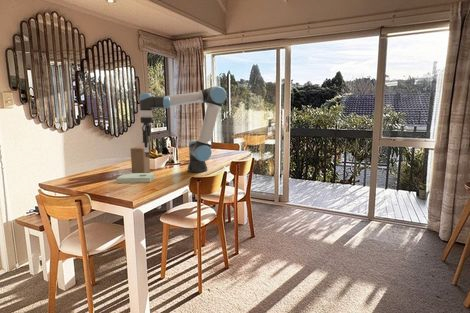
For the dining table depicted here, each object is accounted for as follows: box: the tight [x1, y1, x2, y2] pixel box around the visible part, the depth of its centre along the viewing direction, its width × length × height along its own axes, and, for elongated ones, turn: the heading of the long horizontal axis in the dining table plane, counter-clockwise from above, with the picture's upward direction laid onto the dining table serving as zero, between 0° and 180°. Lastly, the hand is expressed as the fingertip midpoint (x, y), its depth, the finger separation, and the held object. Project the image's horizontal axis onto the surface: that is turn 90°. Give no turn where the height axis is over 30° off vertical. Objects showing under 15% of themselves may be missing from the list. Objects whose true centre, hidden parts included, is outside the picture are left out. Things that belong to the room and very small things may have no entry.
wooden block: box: [129, 145, 151, 173], centre depth 221 cm, size 10×10×20 cm
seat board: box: [116, 172, 156, 184], centre depth 205 cm, size 22×14×3 cm, turn 91°
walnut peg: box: [144, 136, 152, 158], centre depth 201 cm, size 4×4×14 cm
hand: (147, 151), depth 202 cm, fingers closed on walnut peg, 4 cm apart
